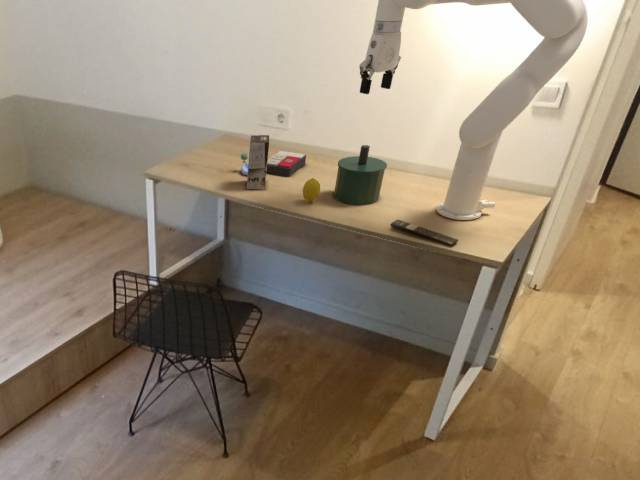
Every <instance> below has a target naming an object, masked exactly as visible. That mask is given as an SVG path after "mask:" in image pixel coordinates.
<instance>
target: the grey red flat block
mask: <svg viewBox="0 0 640 480" xmlns="http://www.w3.org/2000/svg"><path fill="white" fill-rule="evenodd" d="M306 161H307V155H306V154H303V153H299V152H298V153H297V152H290V151H283V150H279V151H278V152H277V153H274V154H273V155H272V156H271V157H270V158H268V161H267V171H266V174H272V175H277V176H284V177H291V176H292V175H293V174H295V173H296V172H297V171H298V170H299V169H302V168H303V167H304V166H305V165H306Z"/></svg>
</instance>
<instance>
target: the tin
mask: <svg viewBox="0 0 640 480" xmlns="http://www.w3.org/2000/svg"><path fill="white" fill-rule="evenodd" d="M337 167H338V168H337V173H336V179H335V186H334V191H333V197H334V199H335V200H337V201H339V202H340V203H343V204H347V205H356V206H363V205H364V206H365V205H372V204H374V203H377V201H379V197H380V195H381V191H382V190H381V189H382V186H383V180H384V176H385V170H386V169H385V170H383V171H381V172H376V173H355V172H350V171H346V170H343V169H341V168H340V167H339V166H337Z"/></svg>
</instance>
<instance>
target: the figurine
mask: <svg viewBox="0 0 640 480" xmlns="http://www.w3.org/2000/svg"><path fill="white" fill-rule="evenodd" d="M240 159H241V160H242V162H243V164H242V166H241V167H240V173H241V174H242V175H243V176H248V164H249V162H247V161H246V160H248V159H249V156H248V153H247V152H242V153H241V155H240Z"/></svg>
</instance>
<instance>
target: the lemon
mask: <svg viewBox="0 0 640 480" xmlns="http://www.w3.org/2000/svg"><path fill="white" fill-rule="evenodd" d="M320 193H321V184H320V182H319V181H318V180H317V179H315V178H314V177H312V178H310V179H308V180H307V181H305V183H304V185H303V187H302V197H303V198H304V200H306V201H307V202H308V203H312V202H313V201H315V200H317V199H318V198H319V196H320Z"/></svg>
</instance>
